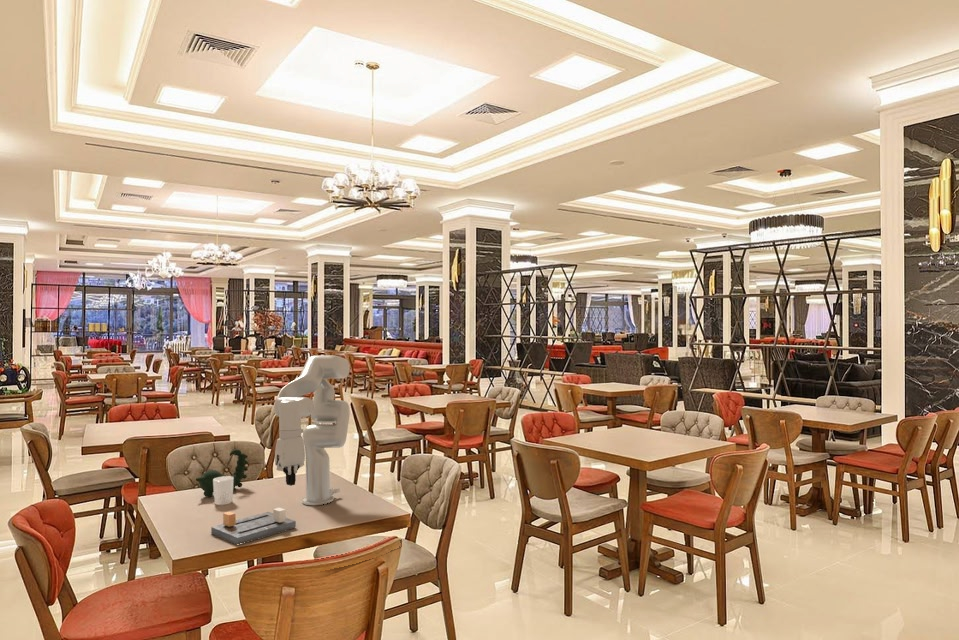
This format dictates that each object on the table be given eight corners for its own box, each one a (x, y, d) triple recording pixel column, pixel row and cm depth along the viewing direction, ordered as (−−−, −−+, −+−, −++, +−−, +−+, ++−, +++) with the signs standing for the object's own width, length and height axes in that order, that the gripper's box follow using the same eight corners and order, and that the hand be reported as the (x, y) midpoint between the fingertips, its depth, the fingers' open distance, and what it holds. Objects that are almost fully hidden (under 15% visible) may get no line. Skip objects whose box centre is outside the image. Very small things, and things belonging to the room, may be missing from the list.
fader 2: (279, 521, 224) (279, 507, 224) (285, 523, 221) (285, 509, 221) (273, 523, 222) (273, 509, 222) (279, 525, 219) (279, 511, 219)
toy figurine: (236, 489, 283) (187, 498, 261) (238, 447, 284) (190, 452, 263) (250, 491, 278) (201, 501, 257) (253, 449, 280) (204, 454, 258)
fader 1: (229, 525, 220) (229, 511, 220) (235, 528, 217) (235, 513, 217) (223, 527, 218) (223, 513, 218) (229, 529, 216) (228, 515, 216)
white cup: (237, 500, 259) (237, 476, 259) (227, 505, 251) (227, 481, 251) (219, 499, 260) (219, 476, 260) (209, 505, 252) (209, 480, 252)
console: (268, 518, 234) (268, 511, 234) (295, 528, 222) (295, 520, 222) (211, 534, 217) (211, 526, 217) (237, 545, 205) (237, 537, 205)
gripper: (302, 430, 234) (302, 479, 233) (265, 436, 222) (266, 487, 222) (313, 432, 229) (314, 482, 229) (277, 438, 217) (278, 490, 217)
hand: (290, 484), depth 225 cm, fingers closed
